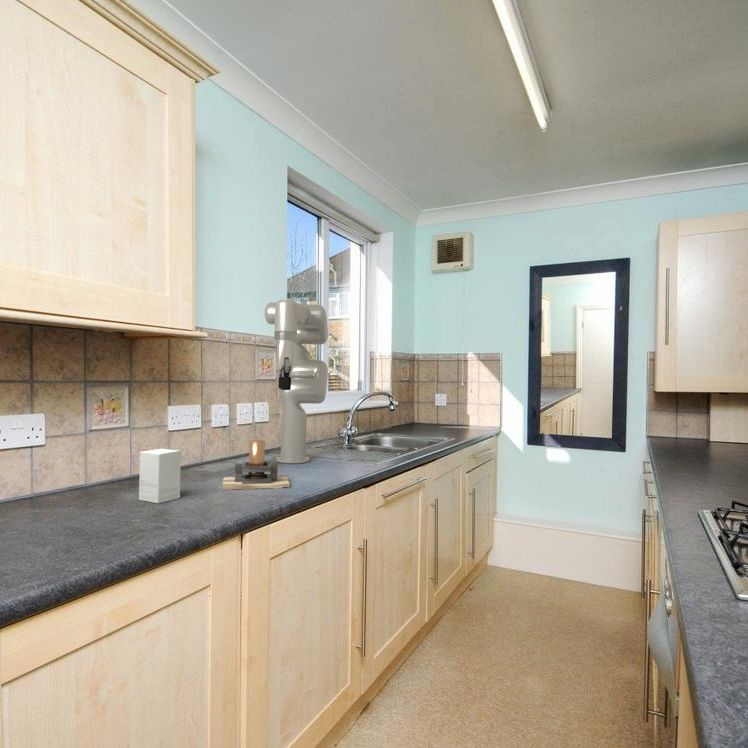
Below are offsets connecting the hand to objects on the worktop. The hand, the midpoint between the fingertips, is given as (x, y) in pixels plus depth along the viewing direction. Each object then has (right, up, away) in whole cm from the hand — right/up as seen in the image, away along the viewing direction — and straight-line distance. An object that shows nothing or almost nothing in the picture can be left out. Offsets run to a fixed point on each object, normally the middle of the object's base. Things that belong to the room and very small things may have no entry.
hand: (284, 389), depth 167 cm
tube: (-6, -27, -16) cm, 32 cm away
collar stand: (-6, -28, -16) cm, 33 cm away
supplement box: (-26, -28, -36) cm, 52 cm away
